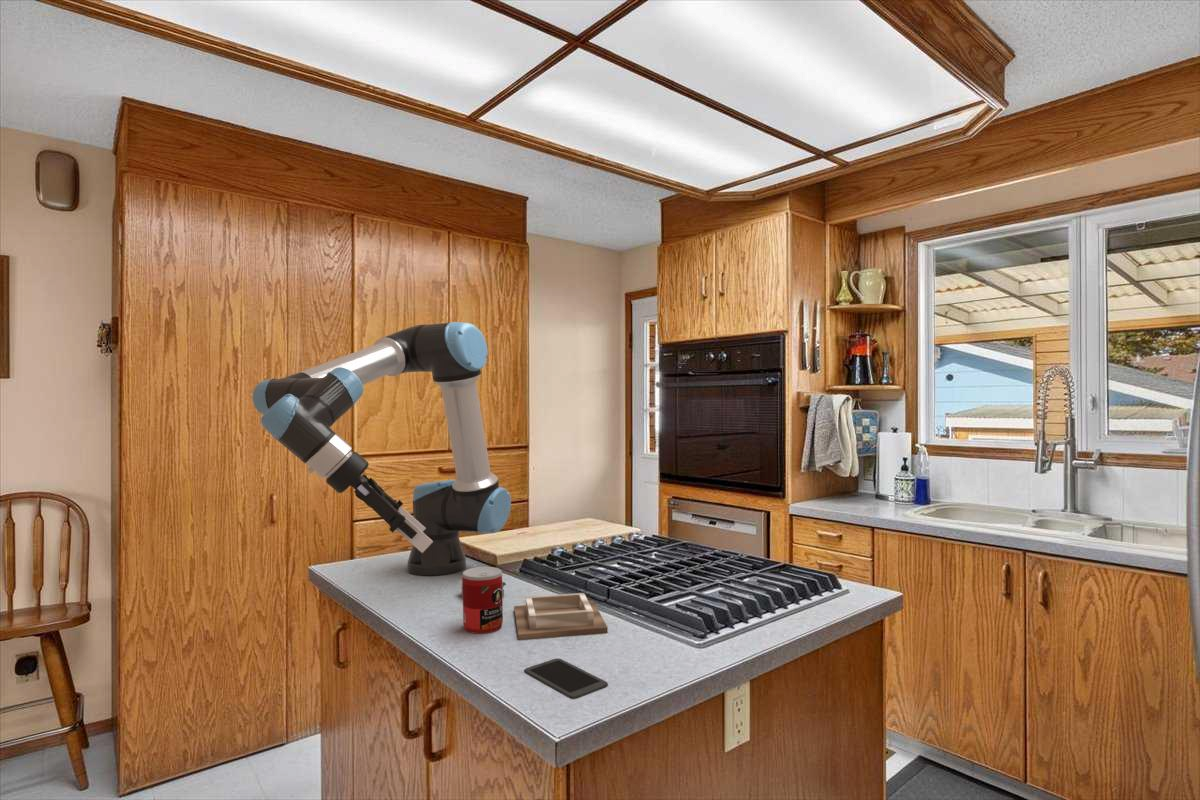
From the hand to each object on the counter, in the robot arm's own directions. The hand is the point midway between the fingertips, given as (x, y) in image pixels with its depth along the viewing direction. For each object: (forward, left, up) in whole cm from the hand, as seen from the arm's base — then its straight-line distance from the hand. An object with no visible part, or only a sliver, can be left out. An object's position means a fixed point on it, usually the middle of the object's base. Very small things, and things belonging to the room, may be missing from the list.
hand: (424, 539), depth 128 cm
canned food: (-2, +11, -19) cm, 22 cm away
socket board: (-2, +26, -18) cm, 32 cm away
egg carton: (-22, +11, -19) cm, 31 cm away
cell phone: (+25, +24, -19) cm, 39 cm away
